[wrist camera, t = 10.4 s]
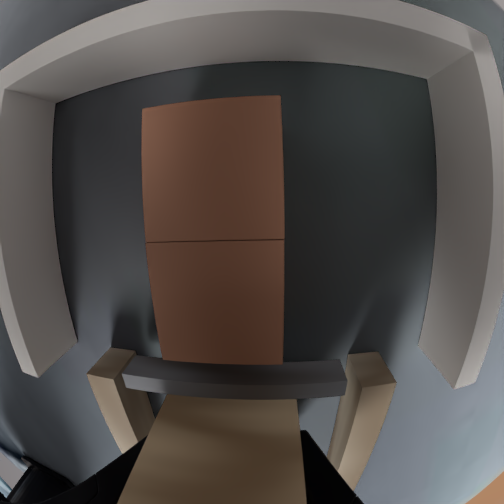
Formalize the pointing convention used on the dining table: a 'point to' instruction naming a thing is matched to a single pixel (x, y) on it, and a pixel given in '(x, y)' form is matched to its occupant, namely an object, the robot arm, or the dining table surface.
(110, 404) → the channel
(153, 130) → the chip
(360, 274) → the dining table surface
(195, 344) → the brown cube
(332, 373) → the scraper
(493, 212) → the tray
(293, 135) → the dining table surface
